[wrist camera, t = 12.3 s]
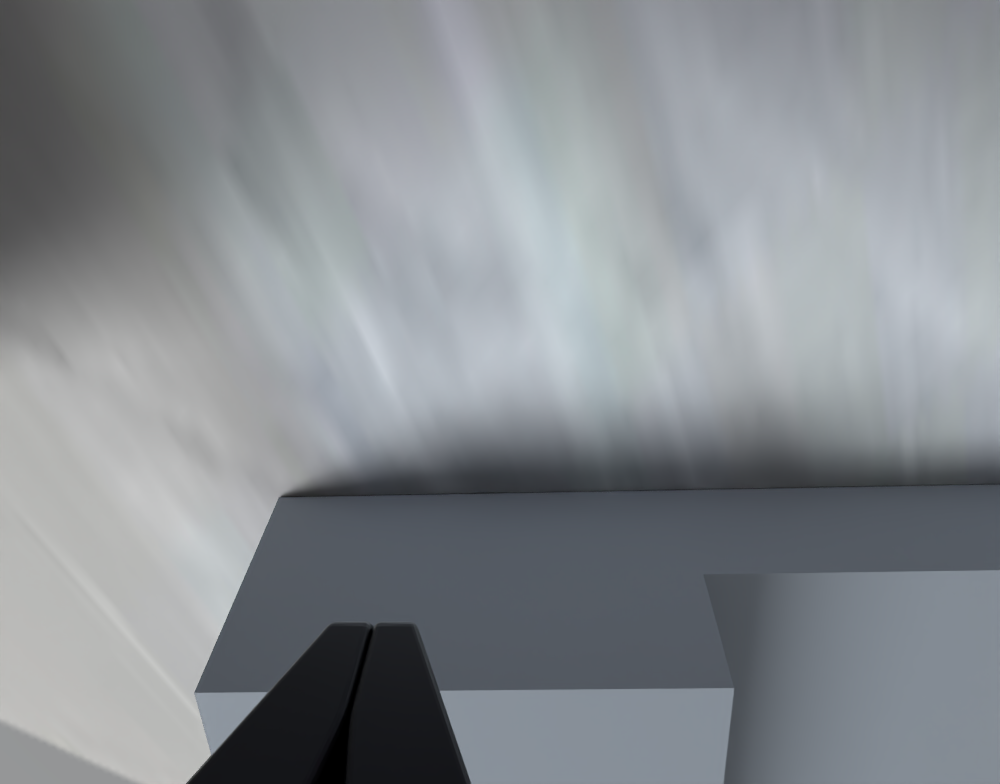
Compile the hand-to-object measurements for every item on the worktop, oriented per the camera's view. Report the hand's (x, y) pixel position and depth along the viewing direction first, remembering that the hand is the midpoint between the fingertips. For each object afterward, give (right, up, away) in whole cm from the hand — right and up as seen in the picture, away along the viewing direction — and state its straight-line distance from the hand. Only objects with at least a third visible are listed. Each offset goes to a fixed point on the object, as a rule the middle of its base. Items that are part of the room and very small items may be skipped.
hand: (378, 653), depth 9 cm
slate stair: (+5, -4, +15) cm, 17 cm away
